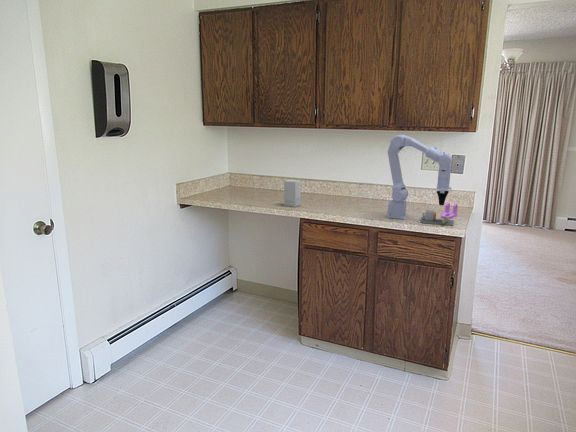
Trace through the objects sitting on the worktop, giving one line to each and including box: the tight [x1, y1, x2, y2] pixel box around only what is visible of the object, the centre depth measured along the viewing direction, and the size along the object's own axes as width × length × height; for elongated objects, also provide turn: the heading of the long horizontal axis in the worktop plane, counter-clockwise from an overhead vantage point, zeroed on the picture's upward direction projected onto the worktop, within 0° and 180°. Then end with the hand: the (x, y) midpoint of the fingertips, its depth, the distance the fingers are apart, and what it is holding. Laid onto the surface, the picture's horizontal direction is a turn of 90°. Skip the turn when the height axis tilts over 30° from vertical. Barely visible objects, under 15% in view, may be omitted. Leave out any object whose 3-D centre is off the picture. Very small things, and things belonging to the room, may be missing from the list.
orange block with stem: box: [421, 211, 437, 219], centre depth 230 cm, size 7×5×3 cm
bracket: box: [440, 202, 459, 220], centre depth 239 cm, size 13×6×7 cm, turn 145°
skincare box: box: [283, 179, 302, 208], centre depth 263 cm, size 8×7×16 cm
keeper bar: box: [442, 217, 450, 223], centre depth 222 cm, size 9×1×2 cm, turn 148°
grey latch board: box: [419, 216, 454, 227], centre depth 227 cm, size 16×12×4 cm
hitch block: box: [420, 209, 443, 221], centre depth 229 cm, size 12×6×5 cm, turn 69°
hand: (441, 205), depth 223 cm, fingers closed
